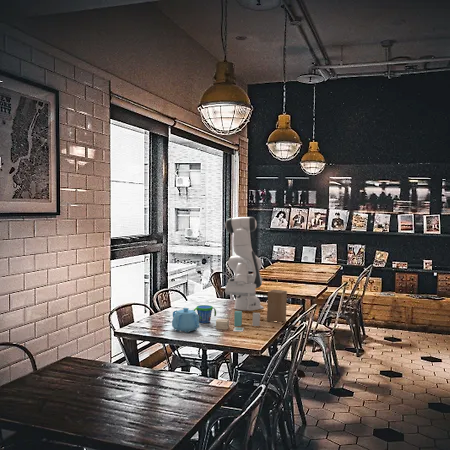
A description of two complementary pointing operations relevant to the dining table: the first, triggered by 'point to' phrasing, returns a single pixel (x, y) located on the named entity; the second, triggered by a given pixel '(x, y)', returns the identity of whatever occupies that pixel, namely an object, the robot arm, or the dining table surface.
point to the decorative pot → (185, 320)
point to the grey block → (256, 319)
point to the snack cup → (205, 313)
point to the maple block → (222, 324)
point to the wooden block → (276, 305)
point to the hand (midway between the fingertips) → (239, 299)
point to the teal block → (237, 318)
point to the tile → (238, 329)
